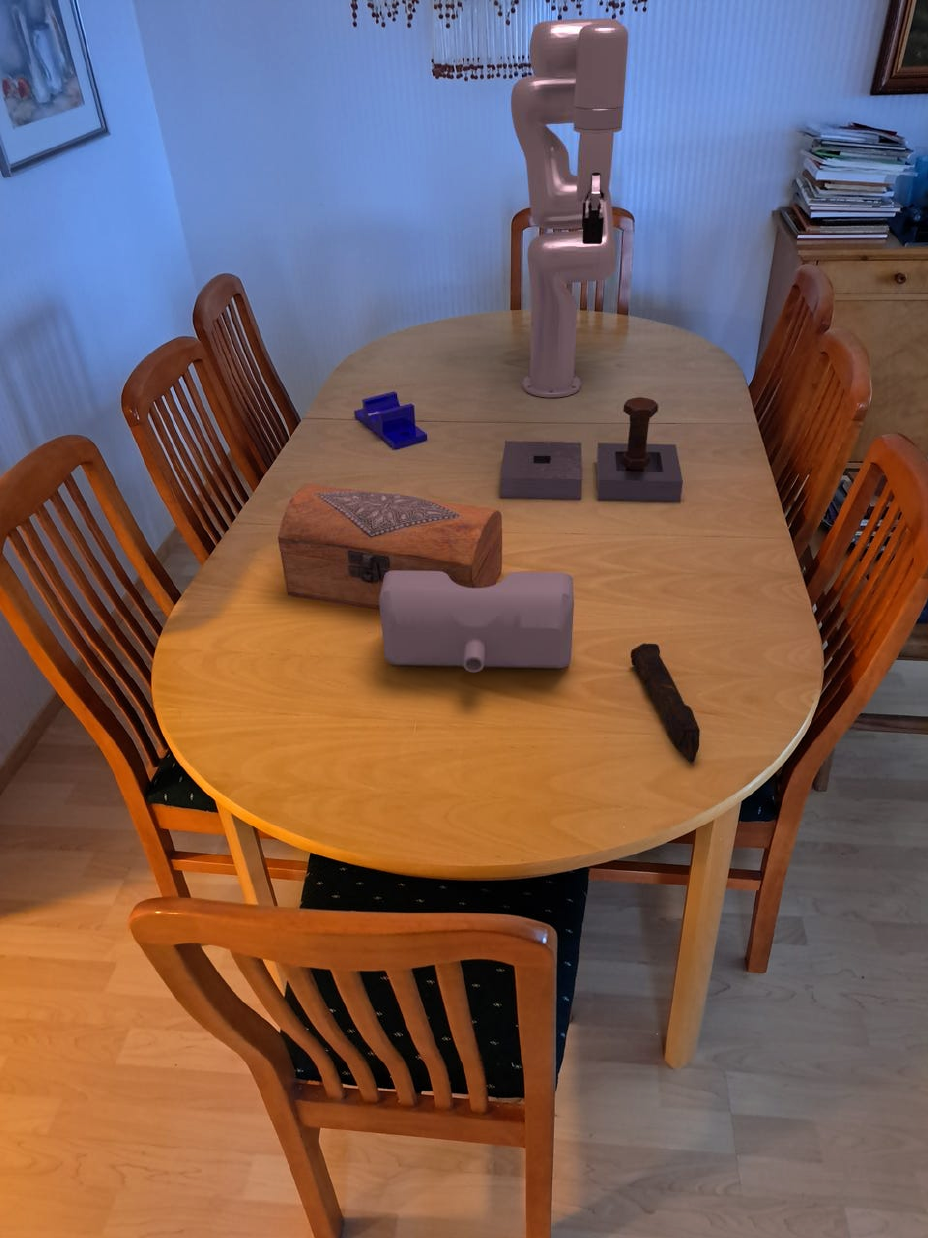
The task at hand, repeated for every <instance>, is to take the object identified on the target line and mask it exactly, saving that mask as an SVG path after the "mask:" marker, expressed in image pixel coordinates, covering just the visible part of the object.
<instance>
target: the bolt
mask: <svg viewBox="0 0 928 1238" xmlns="http://www.w3.org/2000/svg"><path fill="white" fill-rule="evenodd" d="M622 409H623V410H622V412H623V413H625V414H626V415H628V416H629V428H628V429H629V431H628V440H627V441H628V442H627V443H628V449H627V451H626V452H624V454H623V455H622V459H621V463H622V464H623V465H624V466H625V467H626V471H636V472H644V468H646V467H647V466H648V464H649V462H650V456H649V454H648V453H647V452H646V444H648V443H647V442H648V433H649V426H650V425H649V423H650V421H651V418H652V417H654V416H655V414H657V413H658V412H659V411H658V410H659V404H658V403H657V402H656V400H654V399H652V398H648V397H642V396H637V397H633V398H629V399H627V400H626V401H625V403H624V404H623V408H622Z"/></svg>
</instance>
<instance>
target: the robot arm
mask: <svg viewBox="0 0 928 1238" xmlns="http://www.w3.org/2000/svg"><path fill="white" fill-rule="evenodd" d="M628 47H629V32H628V29H627V27H626V26H625V25H623V24H622V23H621V22H620V21H619V20H618V19H615V18H608V17H607V18H579V19H578V18H576V19H573V18H572V19H560V20H559V19H557V20H546V21H541V22H538V23H536V24H535V25H534V27H533V29H532V32H531V35H530V40H529V48H528V49H529V62H530V67H531V69H532V73H533V74H532V75H529V76H525V77H522V78H520V79H519V80H518V81H516V83H515V84H514V86H513V87H512V90H511V94H510V110H511V111H510V112H511V119H512V123H513V128H514V131H515V134H516V135H515V136H516V137H517V141H518V143H519V145H520V148H521V150H522V152H523V156H524V159H525V165H526V176H527V187H528V197H529V198H528V199H529V209H530V214H531V218H532V222H533V223H534V225H535V226H536V227H538V228H540V229H546V230H559V229H560V230H562V229H563V230H564V229H579V228H580V229H582V230H580V231H579V230H578V231H572V230H571V231H556V232H555V231H554V232H547V233H546V232H545V233H543V234H542V233H541V234H540V235H538V236H537V235H536V237H534V238H533V239H532V240H531V241H530V243H528V244H529V245H528V246H527V256H526V257H527V259H526V260H527V266H528V274H529V275H528V277H529V284H530V342H529V343H530V345H529V346H530V351H529V352H530V353H529V356H530V357H529V374H528V375H527V376H525V377H524V379H522V388H523V390H524V391H525V392H527V393H528V394H530V395H532V396H535V397H541V398H551V399H552V398H563V397H564V398H565V397H568V396H571V395H574V394H576V393H577V392H578V391H579V390H580V389H581V386H582V381H581V379H580V378H579V377H578V376H577V375H575V366H576V363H575V361H576V344H577V343H576V342H577V341H576V340H577V322H578V305H577V301H576V299H575V297H574V295H573V294H572V293H571V291H570V290H569V289H568V288H567V287H566V285H568V284H574V283H575V284H576V283H589V282H590V283H591V282H592V283H593V282H600V281H605V280H608V279H609V278H611V276H613V273H614V271H615V269H616V268H615V267H616V260H617V259H616V258H617V257H616V241H615V239H616V238H615V231H614V219H613V218H614V217H613V206H612V197H611V191H610V182H611V173H612V164H613V163H612V162H613V152H614V139H615V133H618V132H620V131H622V130H623V119H624V103H625V101H624V100H625V94H626V93H625V91H626V90H625V89H626V78H627V77H626V76H627V63H628ZM559 124H560V125H562V124H573V128H572V129H573V131H574V132H576V133H579V140H578V152H577V172H576V174H577V175H574V174H572V173H571V167H570V155H569V152H568V148H567V147H566V146H565V144H564V142H563V141H562V140H561V139H560V137H559V136H557V135H556V133H555V132H553V131H552V130H551V129H550V128H549V127H548V125H559Z"/></svg>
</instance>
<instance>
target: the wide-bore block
mask: <svg viewBox="0 0 928 1238" xmlns="http://www.w3.org/2000/svg"><path fill="white" fill-rule="evenodd" d="M596 449H597V450H596V451H597V452H596V461H595V462H596V464H595V465H596V482H597V484H596V485H597V501H611V502H612V501H613V502H615V501H617V502H618V501H619V502H651V503H653V502H655V503H656V502H658V503H660V502H661V503H663V502H664V503H681V500H682V499H681V498H682V489H683V483H684V481H683V480H684V479H683V475H682V471H681V465H680V460H679V456H678V450H677V446H676V444H675V443H670V444H669V443H667V444H666V443H662V444H661V443H647V444H646V452H647V453H648V454H649V456H650V462H649V464H648V466H647V467H646V468H644V472H636V471H626V467H625V466H624V465H623V464H622V463H621V459H622V455H623V454H624V452H626V451H627V449H628V442H627V443H626V442H625V443H624V442H623V443H619V442H617V443H616V442H597V448H596Z"/></svg>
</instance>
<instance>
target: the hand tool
mask: <svg viewBox="0 0 928 1238" xmlns="http://www.w3.org/2000/svg"><path fill="white" fill-rule="evenodd" d="M630 658H631V665H632V666H633V667H635V670H636V673H637V674H639V675H640V676H641V677H640V678H641V680H642V682H643V683H644V685H645V686H646V688H647V690H648V692H649V696H650V698H651V699H652V700H653V702H654V706H655V707H656V709H657V710H658V712H659V715H660V716H661V719H662V721H663V723H664V725H665V728H666V734H667V736H668V738H669V739H671V740H670V741H671V742H672V743H671V744H673V745H674V747H675V748H676V749H677V750H678V751H679V753H680V754H681V755H683V757H684V758H685V759H686V760H687V761H688V762H689V763H691V764H694V762H695V761H696V757H697V754H698V751H699V749H700V733H701V729H700V727H699V725H698V722H697V720H696V718H695V713H694V711H693V709H692V707H690V706H689V705H686V704H685V702H684V700H683V698H682V695H681V694H680V692H679V690H678V688H677V685H676V683H675V681H674V680H673V678H672V676H671V674H670V672H669V670H668V667H667V666H666V665H665V663H664V661H663V658H662V657H661V650H660V646H659V645H658V644H657V643H645V642H644V643H641V644H640V645H639V646H637V647H635V648H633V649H631V651H630Z"/></svg>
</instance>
